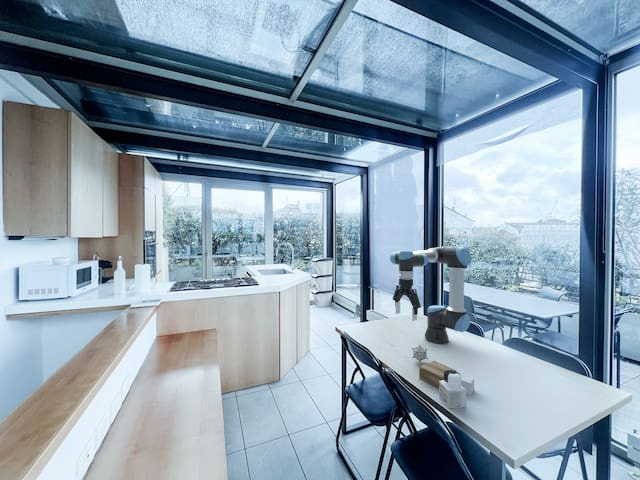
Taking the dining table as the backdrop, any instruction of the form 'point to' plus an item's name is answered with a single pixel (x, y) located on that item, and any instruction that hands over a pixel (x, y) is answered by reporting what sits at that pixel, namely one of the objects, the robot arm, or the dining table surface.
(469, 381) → the grey block
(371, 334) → the dining table surface
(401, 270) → the robot arm
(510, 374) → the dining table surface
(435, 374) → the base block
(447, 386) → the container
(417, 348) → the grey spiky ball
